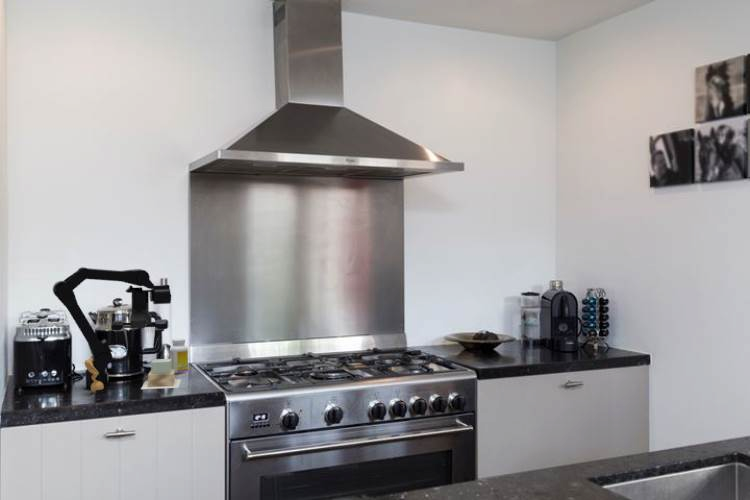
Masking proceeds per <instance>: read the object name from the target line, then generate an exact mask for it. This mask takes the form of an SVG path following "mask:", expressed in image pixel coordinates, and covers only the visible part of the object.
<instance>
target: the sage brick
mask: <svg viewBox="0 0 750 500" xmlns="http://www.w3.org/2000/svg"><path fill="white" fill-rule="evenodd" d="M150 366H151V368H150V371H151V374H170V373H171V371H172V359H170V358H162V359H161V358H156V359H155V358H154V359H152V361H151V365H150Z"/></svg>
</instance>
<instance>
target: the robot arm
mask: <svg viewBox="0 0 750 500" xmlns="http://www.w3.org/2000/svg"><path fill="white" fill-rule="evenodd" d="M86 280H95V281H97V280H98V281H108V282H109V281H112V282H122V283H126V284H129V286H128V288H127V289H125V292H126V293H127V294H129V293H130V294H131V313H130V318H129V319H130V320H129V321H130V322H126V321H125V320H123V319H121V320H120V319H119V320H114V321H113V322H111V324H110V330H111V331H114V332H115V333H118V335H119V336H120V338H121V340H122V343H123V346H124V348H125V350H126V351H128V347H129V345H128V335H127V334H128V333H127V329H129V328H130V329H133V330H135V329H140V330H141V329H145V328H155V329H154V337H153V345H152V347H153V350H155V349H156V345H157V343H158V339H159V338H160V335H161V332H164V331H165V330H168V329H169V320H168V319H156V320H155V321H152V319H153V318H152V313H150V312H149V311H150V309H149V306H150V305H149V303H150V302H151V303H152V304H153V305H169V304H171V303H172V293H171V289H170V284H162V285H155V283H153V282H152V281H151V279H150V274H149V272H148V271H147V270H145V269H142V268H141V269H140V268H133V269H126V270H116V269H114V270H113V269H103V268H88V267H84V266H83V267H79V268H78V269H77V270H76V271H74V273H72V274H71V275H69V276H68V277H66V278H65V279H64V280H59V281H57V282H55V283H54V284H53V287H52V292H53V294H54V296H55V297H56V298H57V299H58V300H59V302H61V303H62V305H63V306H64V307H65V308H66V309H67V310H68V312H69V314H70V316H71V318H72V319H73V320H74V323H75V325H77V327H78V329H79V331H80V332H81V334H82V336H83V337H84V339H85V340H86V342H87V345H88V348H89V350H90V354H91V355H92V356H90V358H93V361H92V363H93V366H94V368H95V369H96V370H97V371H98V373H99V374H98V375H97V377H96V378H95V380H97V381H100V382H102V383H103V385H106V384H108V383H109V372H107V369H108V368H107V366H108V365H109V364H110V363H111V362H112V361H113V354H112V353H113V352H114V351H113V350H112V349H111V348H110V346H109V344H108V342H107V339H105V338H103V340H101V339H100V338H99V337H98V335H97V334H96V332H95V330H94V329H93V327H92V325H91V324H90V322H89V320H88V318H87V317H86V315H85V314H84V312H83V310H82V308H81V307H80V305H79V303H78V300H77V298H76V295H75V292H74V290H75V289H76V288H78V286H80V285H81V284H82V283H83V282H84V281H86ZM133 285H134V286H136V287H133ZM137 286H138V287H137ZM143 287H144V288H146V289H143ZM93 370H94V369H93ZM94 371H95V370H94ZM96 373H97V372H96ZM92 375H93V374H92V373H90V371H89V370H87V369H86V370H85V386H84V390H91V385H92V383H94V381H93V380H92ZM93 379H94V378H93Z"/></svg>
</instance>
